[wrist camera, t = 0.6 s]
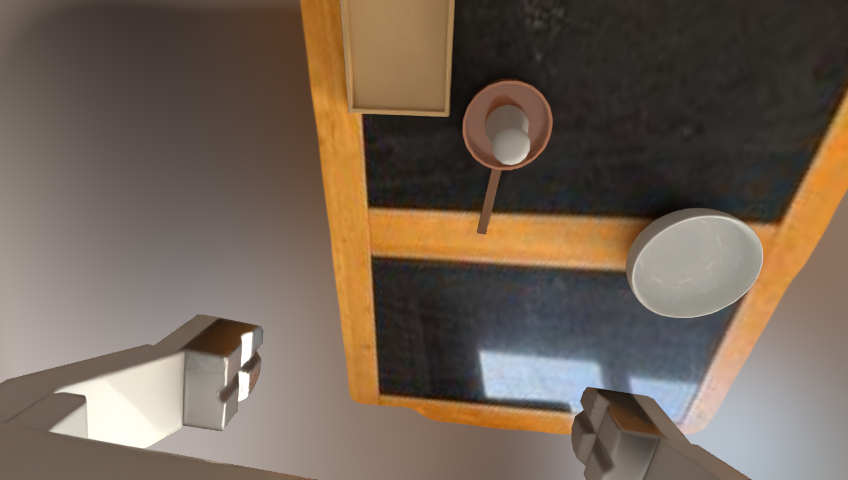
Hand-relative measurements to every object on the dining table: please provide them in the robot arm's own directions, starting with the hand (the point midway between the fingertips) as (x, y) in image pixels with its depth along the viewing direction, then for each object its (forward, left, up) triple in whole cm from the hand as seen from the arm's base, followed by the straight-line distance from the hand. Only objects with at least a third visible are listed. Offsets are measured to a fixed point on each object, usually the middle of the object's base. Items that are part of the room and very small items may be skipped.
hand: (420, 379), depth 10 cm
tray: (+4, -12, -50) cm, 52 cm away
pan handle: (+6, +14, -49) cm, 51 cm away
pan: (-1, +6, -50) cm, 51 cm away
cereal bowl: (-12, +37, -51) cm, 64 cm away
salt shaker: (-1, +6, -50) cm, 51 cm away
